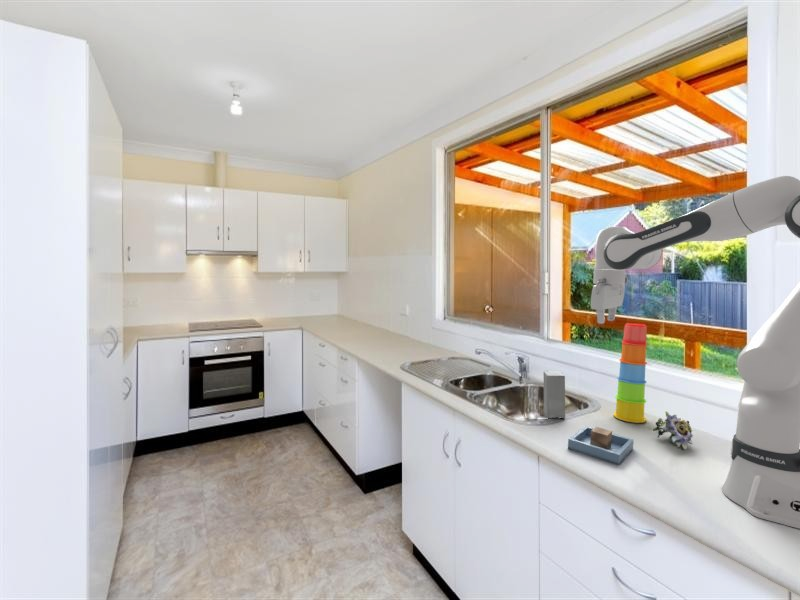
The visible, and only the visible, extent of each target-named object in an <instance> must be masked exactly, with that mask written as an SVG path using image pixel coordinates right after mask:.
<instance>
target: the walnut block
mask: <svg viewBox="0 0 800 600" xmlns="http://www.w3.org/2000/svg"><path fill="white" fill-rule="evenodd" d="M593 428H594V429H593V430H592V431H591V441H590V444H591V445H594V446H597V447H600V448H604V449H607V450H609V449H610V448H611V441H612V434H613V431H612V430H610V429H606V428H603V427H598V426H595V427H593Z"/></svg>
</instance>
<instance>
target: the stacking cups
mask: <svg viewBox="0 0 800 600" xmlns="http://www.w3.org/2000/svg"><path fill="white" fill-rule="evenodd" d="M647 329H648V327H647V325H646V324H643V323H633V322H632V323H630V322H626V323H625V324H624V327H623V340H621V344H622V346H621V354H620V355H621V358H619V359H618V360H619V362H620V364H619V375H618V377H617V380H618V383H617V394H615V396H614V397H615V399H616V403H615V404H616V405H615V407H616V408H615V412H614V413H613V417H614V418H616V419H618V420H621V421H624V422H628V423H633V424H634V423H635V424H640V423H645V422H646V421H647V418H646V417H645V404H646V403H647V399H645V391H646V390H645V389H646V384H647V380H646V366H647V364H648V362H647V361H646V355H647V354H646V353H647V346H648V343H647V334H648V333H647V331H648V330H647Z"/></svg>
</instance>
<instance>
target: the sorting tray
mask: <svg viewBox="0 0 800 600" xmlns="http://www.w3.org/2000/svg"><path fill="white" fill-rule="evenodd" d="M594 428H595V427H590V426H586V425H585V426H583V427H582V428H581V429H579V430H578V431H576V432H575V433H574V434H573V435H572V436H570V437H569V438H568V441H567V449H568V450H570V451H575V452H578V453H580V454H583V455H586V456H589V457H592V458H595V459H598V460H602V461H604V462H607V463H610V464H614V465H617V466H620V465H621V464H622V462H624V460H626V458H627V457H628V456H629V455H630V454H631V452H632V451H633V450H634V439H632V438H630V437H625V436H621V435H619V434H615V433H612V441H611V448H610V449H609V450H607V449H604V448H600V447H597V446H594V445H591V444H590V441H591V431H592V430H593V429H594Z"/></svg>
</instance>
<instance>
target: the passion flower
mask: <svg viewBox="0 0 800 600" xmlns="http://www.w3.org/2000/svg"><path fill="white" fill-rule="evenodd" d="M664 412H665V417H666V418H665V419H664V420H663V419H662V418H658V420H657V421H656V422H655V426H656V427H654V428H653V429H652V432H654V431H657V438H658V439H659V438H660V436H662V435H664V433H670V435H669V436H668V441H669V442H670V443H673V444H674V446H675V447H676V448H677V449H679V448H680V449H682V450H683V449H684V451H687V448H688V447H687V444H689V445H692V444H693V440H692V438H693V437H694V435H693V429H692V426H691V425H690V421H689V420H686V421H685V419H681V417H680V418H679V417H678V415H677V414H675V413H674V414H673V415H671V414H670V413H669V412H668V411H664ZM657 438H656V439H657Z"/></svg>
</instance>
